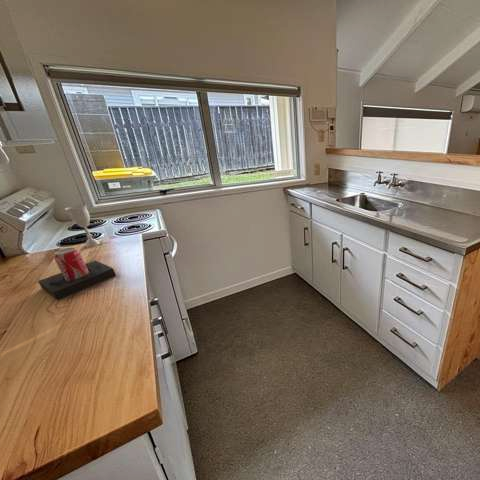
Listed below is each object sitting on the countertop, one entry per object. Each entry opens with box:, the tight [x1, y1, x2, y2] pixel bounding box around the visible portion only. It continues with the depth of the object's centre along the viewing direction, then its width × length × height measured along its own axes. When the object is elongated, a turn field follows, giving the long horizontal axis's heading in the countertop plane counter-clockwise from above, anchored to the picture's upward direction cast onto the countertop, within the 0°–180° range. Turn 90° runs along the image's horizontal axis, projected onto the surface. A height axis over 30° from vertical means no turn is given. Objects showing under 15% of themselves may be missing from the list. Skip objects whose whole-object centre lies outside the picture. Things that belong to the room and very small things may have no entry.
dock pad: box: [37, 260, 117, 301], centre depth 88 cm, size 16×14×3 cm
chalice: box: [65, 204, 100, 248], centre depth 116 cm, size 7×7×18 cm
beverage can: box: [54, 247, 89, 281], centre depth 86 cm, size 6×6×12 cm
